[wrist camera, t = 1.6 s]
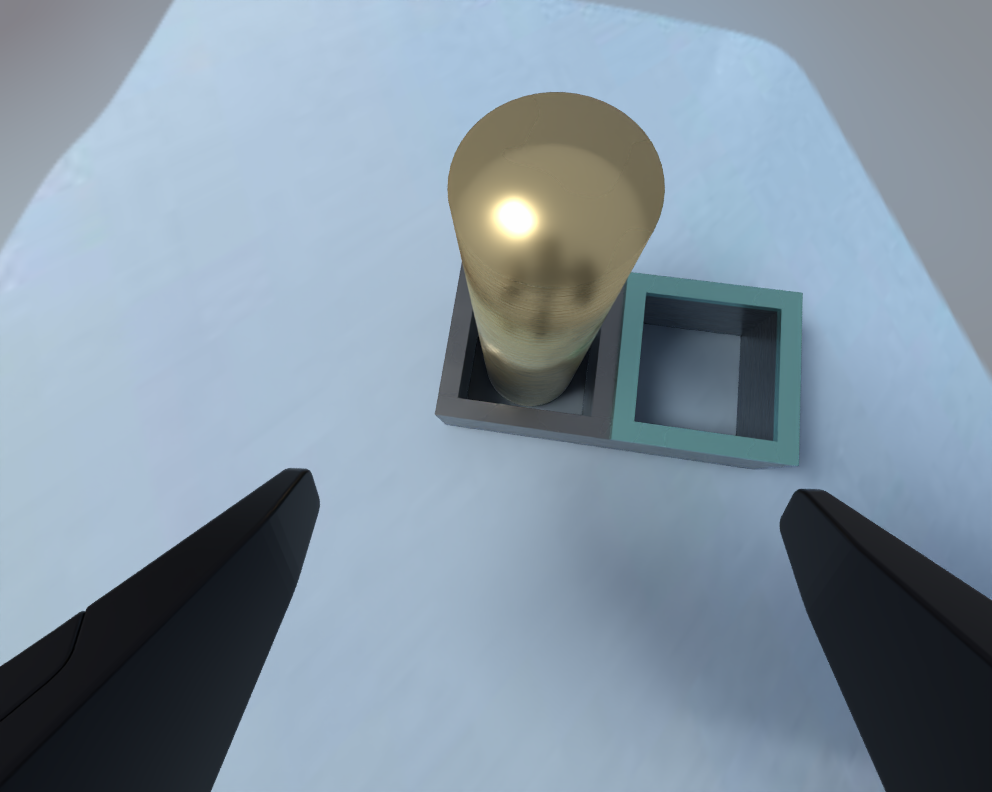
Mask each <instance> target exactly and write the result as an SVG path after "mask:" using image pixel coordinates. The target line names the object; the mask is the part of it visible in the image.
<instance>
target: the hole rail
mask: <svg viewBox="0 0 992 792" xmlns="http://www.w3.org/2000/svg"><path fill="white" fill-rule="evenodd" d="M802 298H803V293H800V292H791V291H783V290H775V289H766V288H758V287H749V286H741V285H733V284H724V283H716V282H708V281H699V280H691V279H683V278H674V277H666V276H657V275H649V274H641V273H632V272H631V273H630V274H629V276H628V278H627V280H626V282H625V284H624V285H623V287H622V289H621V291H620V293H619V294H618V296H617V298H616V300H615V302H614V304H613V305H612V307H611V309H610V311H609V313H608V314H607V316H606V318H605V320H604V322H603V324H602V325H601V327H600V329H599V331H598V333H597V334H596V336H595V338H594V340H593V342H592V344H591V345H590V348H589V356H588V365H587V374H586V382H585V391H584V400H583V409H582V415H575V414H568V413H561V412H554V411H547V410H539V409H532V408H525V407H518V406H511V405H504V404H497V403H490V402H483V401H476V400H469V399H467V397H468V391H469V385H470V379H471V373H472V367H473V361H474V355H475V349H476V343H477V337H478V329H477V325H476V320H475V316H474V312H473V307H472V303H471V298H470V294H469V290H468V285H467V281H466V276H465V272H464V268H463V263H462V264H461V270H460V276H459V281H458V287H457V292H456V298H455V304H454V309H453V315H452V321H451V326H450V332H449V337H448V343H447V349H446V354H445V360H444V366H443V371H442V377H441V382H440V388H439V394H438V399H437V405H436V411H435V415H436V416H437V417H438V418H439V419H440V420H441V421H442V422H444V423H445V424H446V425H452V426H459V427H466V428H473V429H480V430H487V431H494V432H501V433H508V434H514V435H521V436H528V437H535V438H542V439H549V440H556V441H563V442H570V443H576V444H583V445H590V446H597V447H604V448H611V449H618V450H625V451H631V452H638V453H645V454H652V455H659V456H666V457H673V458H680V459H687V460H693V461H700V462H707V463H714V464H721V465H728V466H735V467H742V468H749V469H762V468H776V467H791V466H799V437H800V390H801V344H802ZM643 323H645V324H653V325H661V326H669V327H676V328H684V329H692V330H700V331H708V332H716V333H724V334H732V335H740V336H741V346H740V366H739V387H738V408H737V428H736V436H733V435H726V434H719V433H712V432H705V431H698V430H691V429H684V428H677V427H670V426H662V425H655V424H648V423H641V422H634V418H635V407H636V397H637V386H638V375H639V364H640V353H641V342H642V332H643Z"/></svg>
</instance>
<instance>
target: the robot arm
mask: <svg viewBox="0 0 992 792" xmlns="http://www.w3.org/2000/svg"><path fill="white" fill-rule="evenodd" d="M319 508H320V499H319V495H318V492H317V489H316V486H315V482H314V479H313V476H312V473H311V472H310V471H309V470H308V469H302V468H288V469H285V470H283V471H282V472H280V473H279V474H277V475H276V476H275V477H273V478H272V479H270V480H269V481H267V482H266V483H265V484H263V485H262V486H260V487H259V488H257V489H256V490H254V491H253V492H252V493H250V494H249V495H247V496H246V497H244V498H243V499H242V500H240V501H239V502H237V503H236V504H234V505H233V506H232V507H230V508H229V509H227V510H226V511H224V512H223V513H222V514H220V515H219V516H217V517H216V518H214V519H213V520H212V521H210V522H209V523H207V524H206V525H204V526H203V527H201V528H200V529H199V530H197V531H196V532H194V533H193V534H191V535H190V536H189V537H187V538H186V539H184V540H183V541H181V542H180V543H179V544H177V545H176V546H174V547H173V548H171V549H170V550H169V551H167V552H166V553H164V554H163V555H161V556H160V557H158V558H157V559H156V560H154V561H153V562H151V563H150V564H148V565H147V566H146V567H144V568H143V569H141V570H140V571H138V572H137V573H136V574H134V575H133V576H131V577H130V578H128V579H127V580H126V581H124V582H123V583H121V584H120V585H118V586H117V587H115V588H114V589H113V590H111V591H110V592H108V593H107V594H105V595H104V596H103V597H101V598H100V599H98V600H97V601H95V602H94V603H92V604H91V605H90V606H88V607H87V609H86V612H85V611H81V612H79V613H78V614H77V615H75V616H74V617H72V618H71V619H69V620H68V621H66V622H65V623H64V624H62V625H61V626H59V627H58V628H56V629H55V630H54V631H52V632H51V633H49V634H48V635H46V636H45V637H43V638H42V639H40V640H39V641H37V642H36V643H34V644H33V645H31V646H30V647H28V648H27V649H26V650H24V651H23V652H21V653H20V654H18V655H17V656H15V657H14V658H12V659H11V660H9V661H8V662H6V663H5V664H3V665H2V666H0V792H211V790H212V788H213V785H214V783H215V780H216V778H217V776H218V773H219V771H220V768H221V766H222V764H223V761H224V759H225V756H226V754H227V752H228V749H229V747H230V745H231V742H232V740H233V737H234V735H235V733H236V730H237V728H238V725H239V723H240V721H241V718H242V716H243V713H244V711H245V709H246V706H247V704H248V701H249V699H250V697H251V694H252V692H253V689H254V687H255V685H256V682H257V680H258V677H259V675H260V673H261V670H262V668H263V666H264V663H265V661H266V658H267V656H268V654H269V651H270V649H271V646H272V644H273V642H274V639H275V637H276V634H277V632H278V630H279V627H280V625H281V622H282V620H283V618H284V615H285V613H286V610H287V608H288V606H289V603H290V601H291V598H292V596H293V593H294V591H295V588H296V586H297V583H298V580H299V576H300V573H301V570H302V567H303V563H304V560H305V557H306V553H307V550H308V546H309V543H310V540H311V536H312V533H313V530H314V526H315V523H316V519H317V516H318V513H319ZM780 532H781V535H782V538H783V542H784V545H785V548H786V551H787V554H788V557H789V560H790V563H791V566H792V569H793V572H794V576H795V579H796V582H797V585H798V588H799V591H800V594H801V597H802V600H803V603H804V606H805V608H806V611H807V614H808V616H809V619H810V621H811V623H812V626H813V628H814V630H815V633H816V635H817V637H818V639H819V642H820V644H821V646H822V648H823V651H824V653H825V655H826V658H827V660H828V662H829V664H830V667H831V669H832V671H833V673H834V676H835V678H836V680H837V682H838V685H839V687H840V689H841V691H842V694H843V696H844V698H845V701H846V703H847V705H848V707H849V710H850V712H851V714H852V716H853V719H854V721H855V723H856V725H857V728H858V730H859V732H860V734H861V737H862V739H863V741H864V744H865V746H866V748H867V750H868V753H869V755H870V757H871V759H872V762H873V764H874V766H875V768H876V771H877V773H878V775H879V777H880V780H881V782H882V784H883V787H884V789H885V791H886V792H992V600H990V599H989V598H987V597H986V596H984V595H983V594H981V593H980V592H978V591H977V590H975V589H974V588H972V587H971V586H969V585H968V584H966V583H965V582H963V581H962V580H960V579H959V578H957V577H955V576H954V575H952V574H951V573H949V572H948V571H946V570H945V569H943V568H942V567H940V566H939V565H937V564H936V563H934V562H933V561H931V560H930V559H928V558H927V557H925V556H924V555H922V554H921V553H919V552H917V551H916V550H914V549H913V548H911V547H910V546H908V545H907V544H905V543H904V542H902V541H901V540H899V539H898V538H896V537H895V536H893V535H892V534H890V533H889V532H887V531H886V530H884V529H883V528H881V527H879V526H878V525H876V524H875V523H873V522H872V521H870V520H869V519H867V518H866V517H864V516H863V515H861V514H860V513H858V512H857V511H855V510H854V509H852V508H851V507H849V506H848V505H846V504H845V503H843V502H841V501H840V500H838V499H837V498H835V497H834V496H832V495H831V494H829V493H828V492H826V491H824V490H820V489H798V490H797V491H795V492H794V494H793V495H792V497H791V499H790V501H789V503H788V505H787V507H786V509H785V511H784V513H783V515H782V516H781V519H780Z"/></svg>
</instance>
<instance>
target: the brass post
mask: <svg viewBox="0 0 992 792" xmlns="http://www.w3.org/2000/svg"><path fill="white" fill-rule="evenodd" d="M664 193H665V185H664V175H663V169H662V165H661V162H660V159H659V156H658V154H657V152H656V150H655V148H654V146H653V144H652V142H651V141H650V139H649V138H648V136H647V135H646V134H645V132H644V131H643V130H642V129H641V128H640V127H639V126H638V125H637V123H636V122H634V121H633V120H632V119H631V118H630V117H628V116H627V115H626V114H625V113H623V112H621V111H620V110H618V109H617V108H615V107H613V106H611V105H609V104H607V103H605V102H603V101H601V100H598V99H595V98H592V97H589V96H584V95H580V94H574V93H566V92H547V93H538V94H533V95H528V96H524V97H521V98H518V99H515V100H512V101H509V102H507V103H505V104H503V105H501V106H499V107H497V108H496V109H494V110H493V111H491V112H490V113H488V114H487V115H485V116H484V117H483V118H482V119H481V120H479V121H478V122H477V123H476V124H475V125H474V126H473V127H472V128H471V129H470V130H469V132H468V133H467V134H466V136H465V137H464V138H463V140H462V141H461V143H460V145H459V147H458V148H457V150H456V152H455V155H454V157H453V160H452V163H451V166H450V171H449V176H448V201H449V206H450V210H451V215H452V219H453V224H454V228H455V232H456V237H457V241H458V246H459V250H460V254H461V259H462V263H463V268H464V272H465V276H466V281H467V285H468V290H469V294H470V298H471V303H472V307H473V312H474V316H475V320H476V325H477V329H478V334H479V338H480V342H481V347H482V351H483V356H484V360H485V364H486V369H487V373H488V377H489V379H490V382H491V383H492V385H493V387H494V388H495V390H496V391H497V392H498V393H499V394H500V395H501V396H503V397H504V398H505V399H507V400H508V401H510V402H513V403H515V404H518V405H523V406H539V405H543V404H546V403H549V402H551V401H553V400H554V399H556V398H557V397H559V396H560V395H561V394H562V393H563V392H564V391H565V389H566V388H567V387H568V385H569V383H570V382H571V380H572V378H573V376H574V374H575V373H576V371H577V369H578V367H579V365H580V364H581V362H582V360H583V358H584V356H585V354H586V353H587V351H588V349H589V347H590V345H591V344H592V342H593V340H594V338H595V336H596V334H597V333H598V331H599V329H600V327H601V325H602V324H603V322H604V320H605V318H606V316H607V314H608V313H609V311H610V309H611V307H612V305H613V304H614V302H615V300H616V298H617V296H618V294H619V293H620V291H621V289H622V287H623V285H624V284H625V282H626V280H627V278H628V276H629V274H630V273H631V271H632V269H633V267H634V265H635V264H636V262H637V260H638V258H639V256H640V254H641V253H642V251H643V249H644V247H645V245H646V244H647V242H648V240H649V238H650V236H651V234H652V233H653V231H654V229H655V227H656V225H657V222H658V220H659V218H660V215H661V211H662V207H663V202H664Z"/></svg>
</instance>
